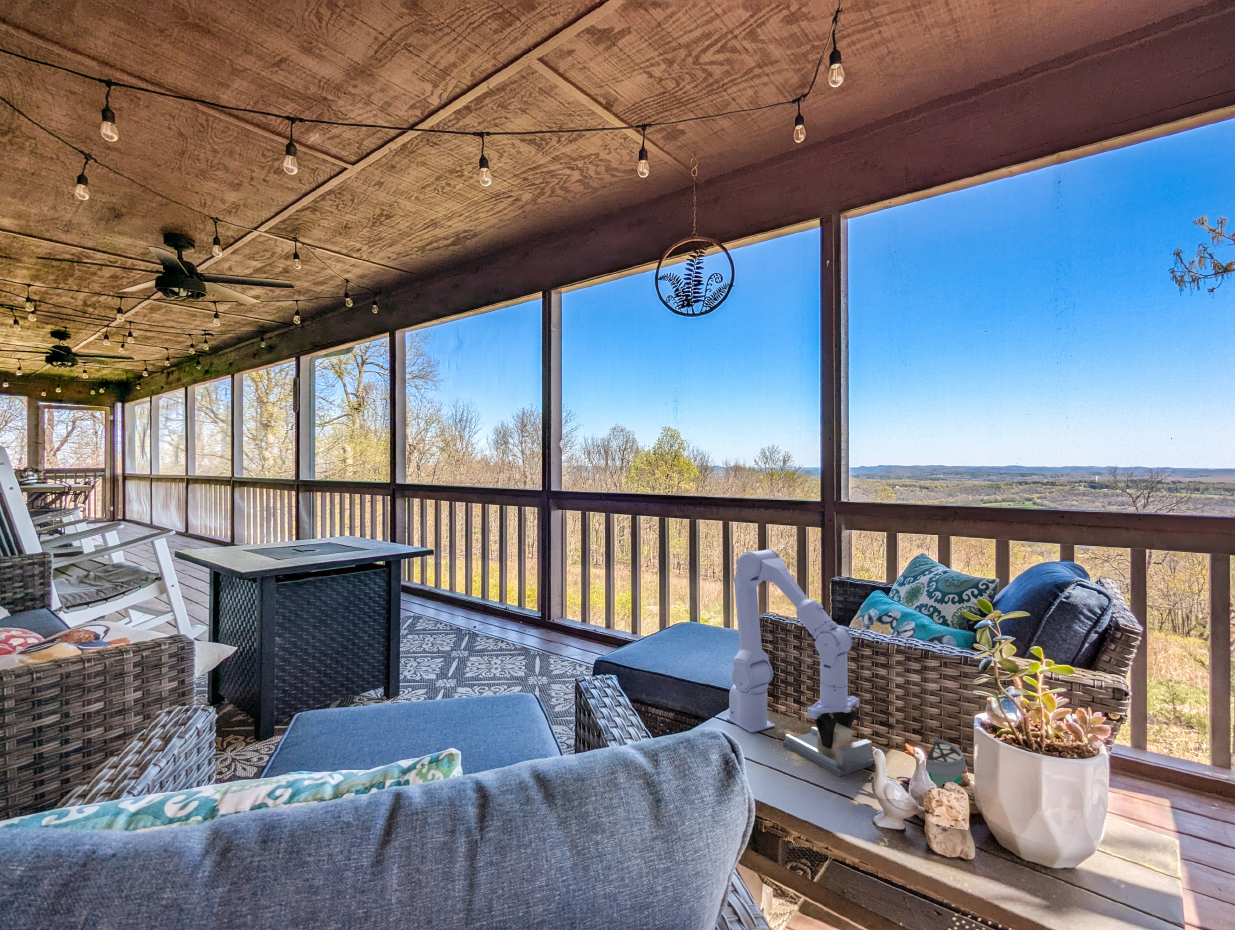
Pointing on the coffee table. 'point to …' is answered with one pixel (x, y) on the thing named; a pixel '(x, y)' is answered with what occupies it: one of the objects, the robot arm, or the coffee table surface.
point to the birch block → (836, 739)
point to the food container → (945, 763)
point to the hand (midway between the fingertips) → (833, 744)
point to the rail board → (844, 763)
